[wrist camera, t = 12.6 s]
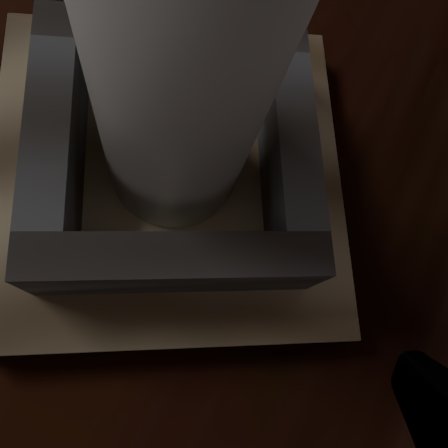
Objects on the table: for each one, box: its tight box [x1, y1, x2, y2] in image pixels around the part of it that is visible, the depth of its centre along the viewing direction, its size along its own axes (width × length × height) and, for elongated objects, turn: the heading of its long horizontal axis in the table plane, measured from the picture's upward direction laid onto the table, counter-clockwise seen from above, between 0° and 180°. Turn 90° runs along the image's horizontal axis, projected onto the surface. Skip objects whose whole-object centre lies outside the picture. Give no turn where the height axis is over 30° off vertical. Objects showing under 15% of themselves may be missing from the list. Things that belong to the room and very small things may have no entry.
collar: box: [0, 0, 361, 356], centre depth 17 cm, size 14×14×4 cm
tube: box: [64, 0, 319, 228], centre depth 11 cm, size 5×5×13 cm
